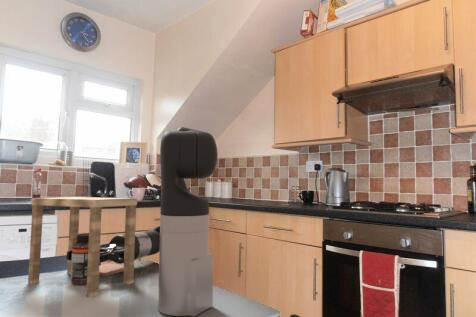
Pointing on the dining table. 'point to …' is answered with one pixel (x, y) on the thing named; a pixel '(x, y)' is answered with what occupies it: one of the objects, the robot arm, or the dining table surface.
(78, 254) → the supplement bottle
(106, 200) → the small wooden table
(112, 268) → the coaster
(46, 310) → the dining table surface
